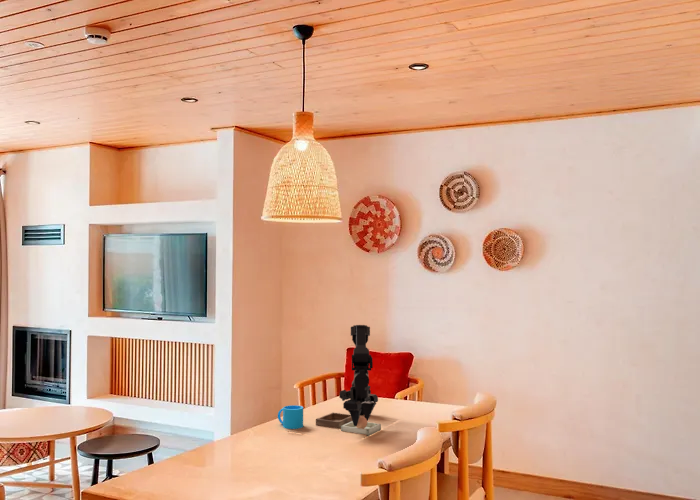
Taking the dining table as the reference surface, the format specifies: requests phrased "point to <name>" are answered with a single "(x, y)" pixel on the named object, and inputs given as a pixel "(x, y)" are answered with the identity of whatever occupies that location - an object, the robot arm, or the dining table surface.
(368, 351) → the robot arm
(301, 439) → the dining table surface
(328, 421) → the walnut box
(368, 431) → the tray
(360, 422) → the ball
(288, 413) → the mug
